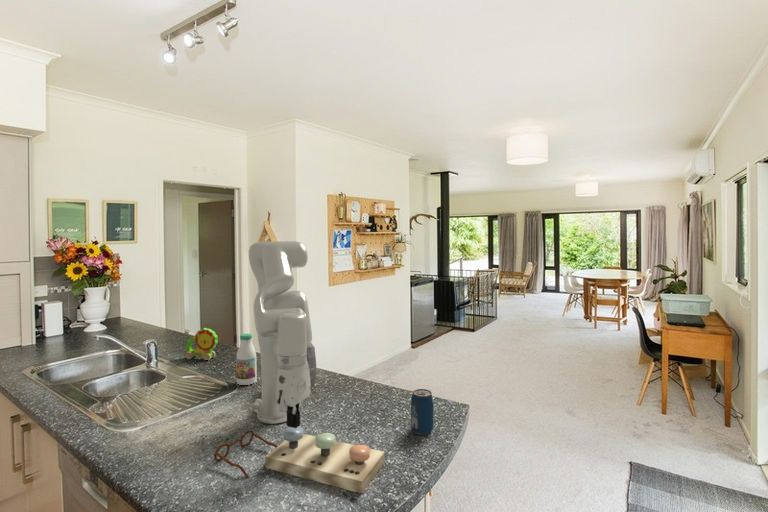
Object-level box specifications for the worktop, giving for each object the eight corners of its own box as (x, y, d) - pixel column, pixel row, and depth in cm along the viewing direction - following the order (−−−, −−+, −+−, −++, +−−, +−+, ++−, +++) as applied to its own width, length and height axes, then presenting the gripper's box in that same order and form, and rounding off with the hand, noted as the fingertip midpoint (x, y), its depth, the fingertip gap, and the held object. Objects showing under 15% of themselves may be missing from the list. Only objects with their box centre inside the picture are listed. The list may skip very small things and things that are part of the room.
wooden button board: (265, 467, 106) (264, 451, 105) (296, 442, 119) (296, 427, 118) (362, 493, 95) (362, 476, 95) (384, 462, 108) (384, 447, 108)
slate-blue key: (279, 439, 109) (279, 433, 109) (291, 430, 114) (291, 424, 114) (295, 442, 107) (295, 436, 107) (306, 433, 112) (306, 428, 112)
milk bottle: (239, 379, 169) (238, 332, 168) (258, 379, 170) (257, 332, 169) (234, 386, 162) (233, 337, 160) (254, 386, 162) (253, 336, 161)
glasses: (251, 443, 119) (251, 426, 118) (284, 455, 112) (284, 438, 112) (213, 465, 107) (212, 447, 107) (247, 480, 101) (247, 461, 101)
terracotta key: (345, 459, 101) (345, 452, 101) (355, 448, 106) (355, 443, 106) (364, 463, 99) (364, 457, 99) (373, 453, 104) (373, 447, 104)
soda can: (435, 427, 128) (435, 389, 127) (430, 437, 122) (430, 398, 121) (414, 423, 130) (414, 387, 130) (408, 433, 124) (408, 395, 123)
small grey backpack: (320, 389, 159) (319, 338, 158) (305, 396, 152) (304, 343, 151) (292, 381, 167) (291, 333, 166) (277, 388, 160) (276, 338, 159)
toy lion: (184, 359, 196) (183, 328, 195) (191, 356, 201) (190, 326, 201) (213, 361, 193) (213, 330, 192) (220, 358, 198) (219, 327, 198)
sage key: (311, 446, 105) (311, 440, 105) (321, 437, 110) (321, 431, 110) (329, 450, 103) (328, 444, 103) (338, 440, 108) (338, 435, 108)
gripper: (287, 369, 101) (288, 441, 102) (319, 353, 115) (320, 417, 115) (263, 365, 104) (264, 436, 104) (296, 350, 117) (297, 412, 118)
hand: (293, 425), depth 110 cm, fingers closed
